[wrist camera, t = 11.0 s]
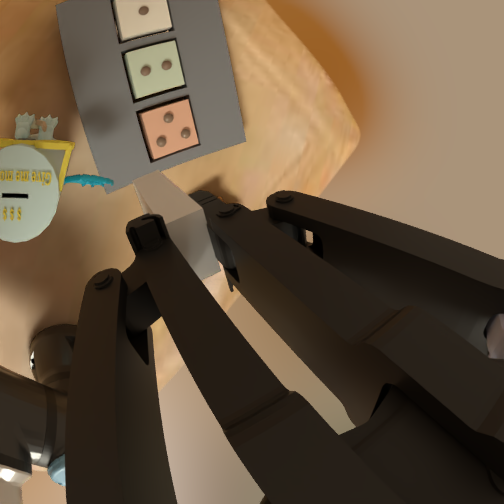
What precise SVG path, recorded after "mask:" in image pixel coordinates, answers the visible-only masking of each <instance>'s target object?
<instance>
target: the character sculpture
mask: <svg viewBox="0 0 504 504" xmlns="http://www.w3.org/2000/svg"><path fill="white" fill-rule="evenodd" d="M34 116H35V114H33V115H31V116H29V115H28V112H26V113H25V114H24V115H20V114H18V116H17V117H16V118H15V121H16V130H15V138H16V139H17V140H14V139H8V138H0V147H5V148H3V149H1V150H0V239H1V240H4V241H9V242H14V243H17V242H24V241H28V240H30V239H32V238H34V237H36V236H38V235H40V234H41V233H42V232H43V231H44V230H45V229H46V228H47V227H48V226H49V224H50V222H51V220H52V218H53V216H54V215H55V213H56V209H57V205H58V202H59V198H60V194H61V192H62V187H63V184H64V185H65V184H66V183H80V184H82V186H85V185H86V184H90V185H91V187H94V185H102V186H103V187H104V184H111V186H113V185H114V181H113V180H112V179H111V180H110V178H104V177H101V176H95V175H91V176H90V175H86V174H83V175H80V174H79V175H76V176H75V175H73V176H67V177H66V173H67V170H68V162H69V158H70V155H71V151H72V149H74V145H75V142H70V141H61V140H57V139H55V138H54V137H53V132H54V128H55V127H56V125H57V123H58V117H56V118H53V119H52V117H51V115H50V114H49V115H48V116H47V117H46V118H43V116H41V118H40V119H35V117H34ZM30 129H39V134H31V135H30ZM65 150H66V151H65ZM65 177H66V178H65Z"/></svg>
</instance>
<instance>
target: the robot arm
mask: <svg viewBox="0 0 504 504" xmlns="http://www.w3.org/2000/svg"><path fill="white" fill-rule="evenodd" d="M132 182H133V185H134V187H135V190H136V193H137V196H138V199H139V201H140V204H141V207H142V210H143V212H144V215H142V216H140V217H138V218H136V219H133V220H131V221H129V222H128V224H127V226H126V235H127V237H128V239H129V242H130V244H131V246H132V248H133V251H134V253H135V255H136V257H135V260H134V262H133V263H132V264H131V266H130V267H129V268H127V269H126V270H125V271H124V272H122V273H121V272H120V271H119V270H118V269H114V268H110V269H106V270H103V271H100V272H98V273H96V274H95V275H94V276H93V277H92V278H91V279H90V280H89V282H88V283H87V285H86V288H85V292H84V296H83V301H82V306H81V310H80V315H79V320H78V325H77V326H75V325H57V326H52V327H49V328H47V329H45V330H43V331H42V332H40V333H39V334H38V335H37V336H36V337H35V338H34V340H33V341H32V343H31V346H30V356H29V361H30V367H31V370H32V373H33V376H34V378H35V381H34V380H32V379H29V378H27V377H24V376H22V375H20V374H18V373H15V372H13V371H11V370H9V369H7V368H5V367H3V366H1V365H0V504H23V500H22V490H21V487H22V485H23V484H24V483H25V482H26V481H27V480H29V479H30V478H31V477H32V465H31V464H34V465H37V466H41V467H45V468H48V470H47V471H48V474H49V475H50V477H51V479H52V480H53V481H54V482H55V483H58V484H60V485H62V486H66V500H67V504H177V500H176V495H175V491H174V486H173V482H172V477H171V472H170V467H169V462H168V456H167V451H166V445H165V439H164V433H163V426H162V420H161V413H160V405H159V398H158V389H157V380H156V370H155V359H154V348H153V334H152V329H151V327H150V325H152V324H153V323H154V322H155V321H156V320H158V319H159V318H160V317H161V316H162V318H163V320H164V322H165V324H166V326H167V328H168V330H169V332H170V334H171V336H172V338H173V340H174V342H175V344H176V346H177V348H178V350H179V352H180V354H181V356H182V358H183V360H184V362H185V364H186V366H187V368H188V369H189V371H190V373H191V375H192V377H193V379H194V381H195V382H196V384H197V386H198V388H199V390H200V391H201V393H202V395H203V397H204V399H205V400H206V402H207V404H208V405H209V407H210V409H211V411H212V412H213V414H214V416H215V417H216V419H217V421H218V422H219V424H220V425H221V427H222V429H223V432H224V434H225V436H226V437H227V439H228V441H229V442H230V444H231V446H232V447H233V449H234V451H235V452H236V454H237V455H238V457H239V458H240V460H241V461H242V463H243V464H244V466H245V467H246V468H247V470H248V472H249V473H250V474H251V476H252V477H253V479H254V480H255V482H256V483H257V484H258V486H259V487H260V489H261V490H262V491H263V493H264V494H265V496H264V498H263V499H262V501H261V502H260V504H504V260H503V259H498V258H496V257H494V256H491V255H489V254H486V253H484V252H481V251H479V250H476V249H474V248H471V247H468V246H466V245H463V244H461V243H458V242H455V241H453V240H450V239H447V238H444V237H442V236H439V235H436V234H433V233H430V232H427V231H424V230H422V229H419V228H416V227H413V226H410V225H407V224H404V223H401V222H398V221H395V220H392V219H389V218H386V217H382V216H379V215H376V214H373V213H370V212H366V211H363V210H360V209H356V208H353V207H350V206H346V205H343V204H340V203H336V202H333V201H329V200H325V199H322V198H318V197H315V196H311V195H307V194H303V193H300V192H296V191H285V190H283V191H278V192H276V193H274V194H271V195H270V196H269V197H267V200H266V204H267V208H263V209H259V210H254V211H251V210H249V209H248V208H246V207H245V206H243V205H241V204H234V203H232V204H225V203H224V202H222V201H221V200H220V199H218V198H217V197H215V196H214V195H213V194H211V193H210V192H208V191H201V190H200V191H197V192H195V193H192V194H190V195H187V194H186V193H185V192H183V191H182V190H181V189H180V188H179V187H178V186H176V185H175V184H174V183H173V182H172V181H171V180H169V179H168V178H167V177H166V176H165V175H164V174H163V173H161V172H160V171H159V170H157V171H154V172H152V173H149V174H147V175H144V176H142V177H139V178H137V179H135V180H132ZM306 230H308V231H311V232H313V243H310V242H307V241H306ZM218 260H219V262H220V263H221V264H222V265H223V268H224V271H225V275H226V278H227V281H228V285H229V288H230V291H231V292H233V291H234V290H233V285H234V286H235V287H236V288H237V289H238V291H239V292H240V293H241V294H242V295H243V296H244V297H245V298H246V300H247V301H248V302H249V303H250V304H251V305H252V306H253V307H254V309H255V310H256V311H257V312H258V313H259V314H260V315H261V316H262V317H263V318H264V320H265V321H266V322H267V323H268V324H269V325H270V326H271V327H272V329H273V330H274V331H275V332H276V333H277V334H278V335H279V336H280V337H281V338H282V339H283V340H284V342H285V343H286V344H287V345H288V346H289V347H290V348H291V349H292V350H293V351H294V353H295V354H296V355H297V356H298V357H299V358H300V359H301V360H302V361H303V362H304V363H305V364H306V365H307V366H308V367H309V369H310V370H311V371H312V372H313V373H314V374H315V375H316V376H317V377H318V378H319V379H320V380H321V381H322V382H323V383H324V384H325V386H327V388H328V389H329V390H330V391H331V392H332V393H333V394H334V395H335V396H336V397H337V398H338V399H339V400H340V401H341V403H342V404H343V406H344V407H345V410H346V412H347V415H348V417H349V418H350V420H351V421H352V423H353V424H354V425H355V426H356V428H354V429H351V430H349V431H347V432H345V433H343V434H340V435H338V434H337V433H336V432H335V431H334V430H333V429H332V428H331V427H330V426H329V425H328V423H327V422H326V421H325V420H324V419H323V418H322V417H321V416H320V415H319V414H318V412H317V411H316V410H315V409H314V408H313V407H312V406H311V405H310V403H309V402H308V401H307V400H305V398H304V397H303V396H301V395H300V394H299V393H297V392H296V391H289V390H288V389H286V388H285V387H284V386H283V384H281V382H280V381H279V380H278V379H277V377H276V376H275V375H274V374H273V373H272V371H271V370H270V369H269V368H268V366H267V365H266V364H265V363H264V362H263V360H262V359H261V358H260V357H259V355H258V354H257V353H256V352H255V350H254V349H253V348H252V347H251V345H250V344H249V343H248V342H247V340H246V339H245V338H244V337H243V335H242V334H241V333H240V331H239V330H238V329H237V327H236V326H235V325H234V324H233V322H232V321H231V320H230V318H229V317H228V316H227V315H226V313H225V312H224V311H223V309H222V308H221V307H220V305H219V304H218V303H217V301H216V300H215V299H214V297H213V296H212V295H211V293H210V292H209V291H208V289H207V288H206V287H205V285H204V284H203V283H202V281H201V280H203V279H205V278H207V277H210V276H212V275H214V274H216V273H218V272H220V271H221V269H220V266H219V263H218Z"/></svg>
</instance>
